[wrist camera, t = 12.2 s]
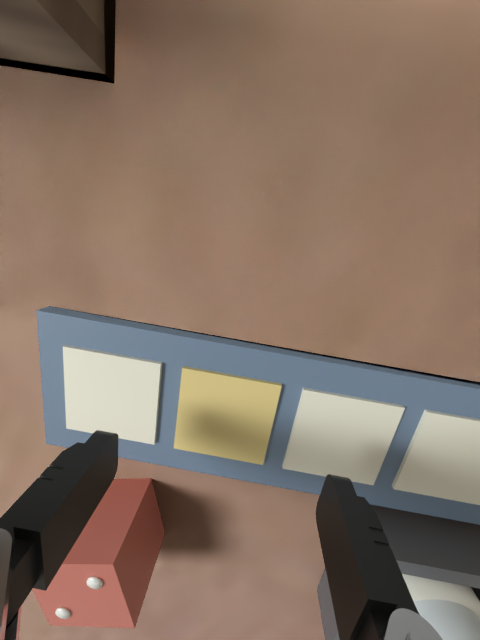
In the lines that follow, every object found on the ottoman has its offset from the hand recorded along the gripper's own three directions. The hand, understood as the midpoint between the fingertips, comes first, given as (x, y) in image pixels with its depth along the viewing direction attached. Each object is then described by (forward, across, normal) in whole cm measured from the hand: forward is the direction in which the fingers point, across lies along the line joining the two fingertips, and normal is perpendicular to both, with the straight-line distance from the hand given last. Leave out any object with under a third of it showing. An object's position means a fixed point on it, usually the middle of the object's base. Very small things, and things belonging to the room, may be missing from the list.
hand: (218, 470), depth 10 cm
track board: (+4, -3, 0) cm, 5 cm away
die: (+4, +5, +8) cm, 11 cm away
